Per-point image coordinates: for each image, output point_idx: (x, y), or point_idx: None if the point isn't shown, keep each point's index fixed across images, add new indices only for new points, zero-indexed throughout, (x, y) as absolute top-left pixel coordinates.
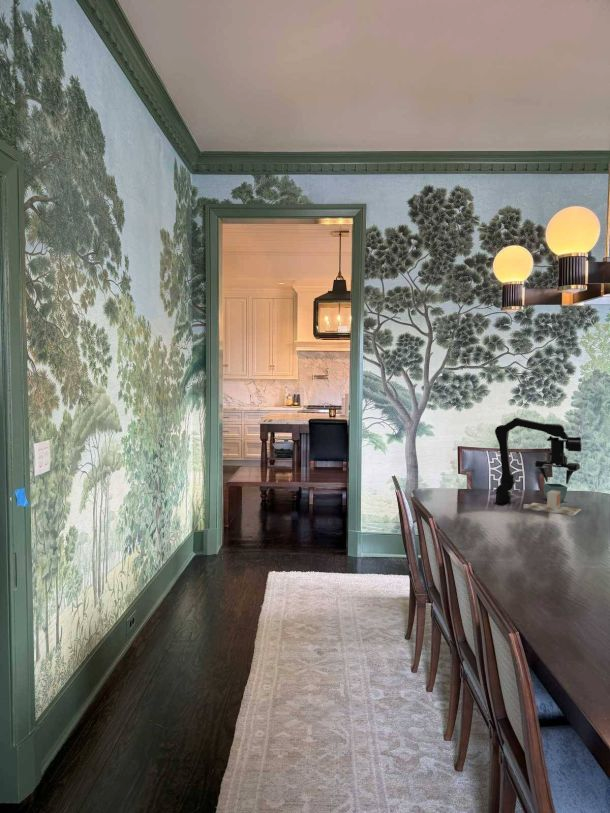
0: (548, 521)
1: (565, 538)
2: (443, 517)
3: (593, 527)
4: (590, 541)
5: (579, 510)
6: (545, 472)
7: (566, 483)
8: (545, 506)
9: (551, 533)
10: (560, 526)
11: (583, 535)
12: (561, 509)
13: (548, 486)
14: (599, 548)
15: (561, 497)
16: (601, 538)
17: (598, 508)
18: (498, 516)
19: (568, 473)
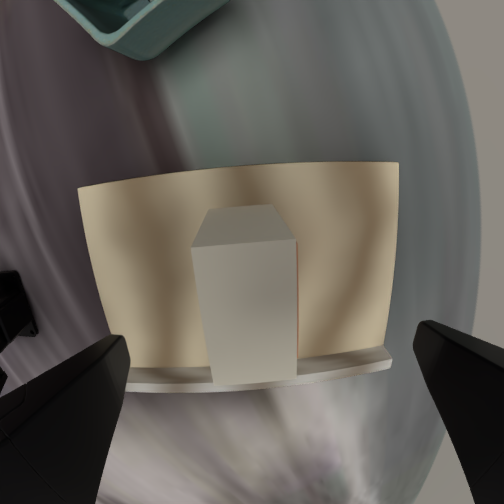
0: (296, 446)
1: (362, 498)
2: None
3: None
4: (408, 479)
5: (394, 201)
6: (79, 500)
7: (418, 357)
8: (183, 247)
9: (330, 498)
10: (343, 459)
11: (400, 467)
12: (331, 374)
13: (83, 27)
14: (416, 488)
15: (218, 4)
16: (434, 454)
17: (425, 19)
18: (140, 471)
19: (496, 490)
